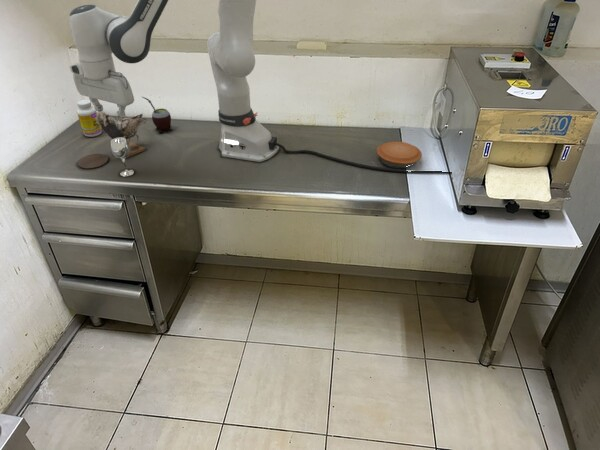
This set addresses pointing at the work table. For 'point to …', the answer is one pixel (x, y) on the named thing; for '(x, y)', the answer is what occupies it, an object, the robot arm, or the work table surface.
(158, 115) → the mate gourd
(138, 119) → the stuffed bird
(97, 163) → the coaster
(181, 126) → the work table surface
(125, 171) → the wineglass
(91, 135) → the supplement bottle
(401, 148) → the pie
